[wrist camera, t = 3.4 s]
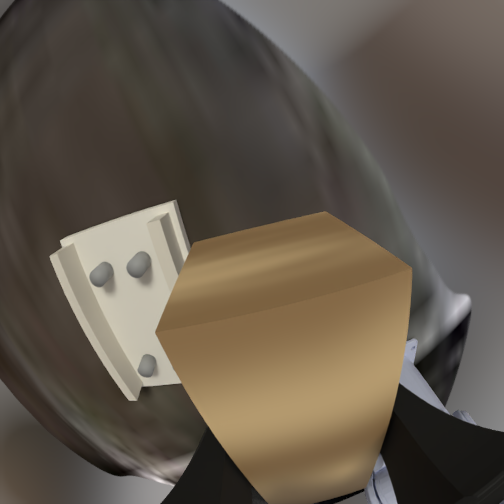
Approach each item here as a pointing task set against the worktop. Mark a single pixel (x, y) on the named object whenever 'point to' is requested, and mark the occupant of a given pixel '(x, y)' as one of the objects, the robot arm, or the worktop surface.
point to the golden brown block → (292, 351)
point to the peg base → (126, 290)
